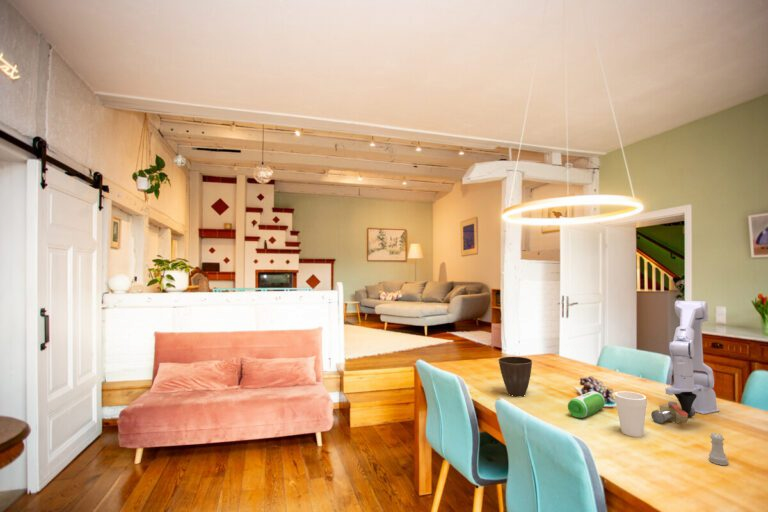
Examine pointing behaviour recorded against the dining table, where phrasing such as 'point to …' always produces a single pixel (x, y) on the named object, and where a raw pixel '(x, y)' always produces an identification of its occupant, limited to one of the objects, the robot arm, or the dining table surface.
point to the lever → (678, 408)
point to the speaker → (586, 404)
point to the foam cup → (631, 412)
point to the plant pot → (516, 374)
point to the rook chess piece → (717, 450)
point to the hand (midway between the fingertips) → (686, 413)
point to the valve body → (670, 414)
